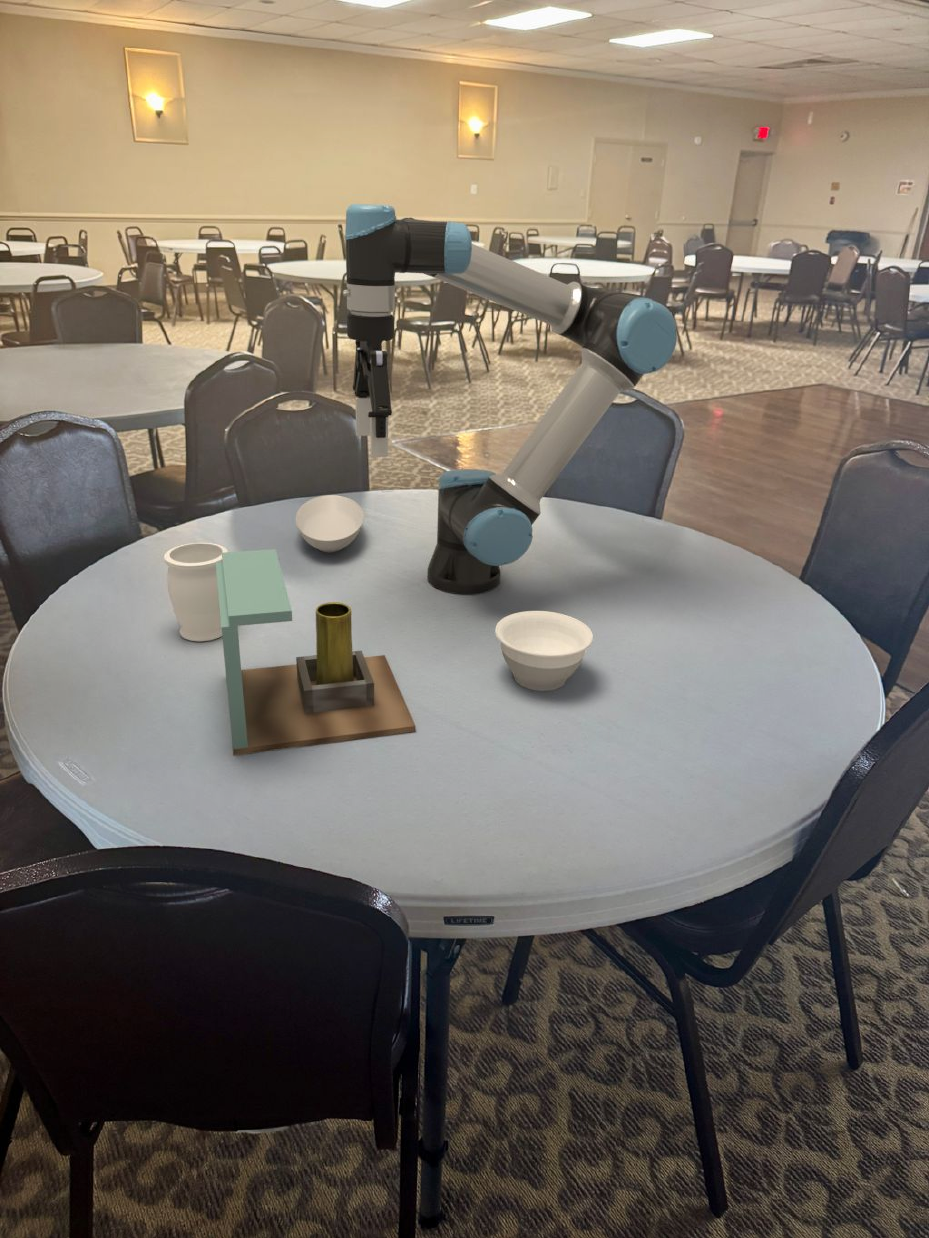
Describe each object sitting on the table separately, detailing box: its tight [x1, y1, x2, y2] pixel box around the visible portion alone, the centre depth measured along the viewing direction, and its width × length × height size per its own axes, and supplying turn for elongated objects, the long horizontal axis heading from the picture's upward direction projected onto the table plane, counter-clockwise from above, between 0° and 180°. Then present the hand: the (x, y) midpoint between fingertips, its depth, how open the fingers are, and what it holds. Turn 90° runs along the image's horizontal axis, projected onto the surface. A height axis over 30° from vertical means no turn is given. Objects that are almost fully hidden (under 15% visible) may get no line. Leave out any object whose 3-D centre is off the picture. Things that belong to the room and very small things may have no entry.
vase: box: [315, 601, 354, 685], centre depth 128 cm, size 6×6×14 cm
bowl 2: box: [494, 610, 594, 692], centre depth 138 cm, size 16×16×8 cm
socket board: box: [232, 650, 416, 756], centre depth 129 cm, size 26×22×5 cm
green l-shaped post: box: [216, 548, 293, 750], centre depth 123 cm, size 9×22×20 cm, turn 17°
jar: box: [163, 542, 229, 642], centre depth 146 cm, size 11×10×15 cm
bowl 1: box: [295, 494, 365, 553], centre depth 190 cm, size 30×15×6 cm, turn 6°
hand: (371, 445), depth 142 cm, fingers open, 13 cm apart
